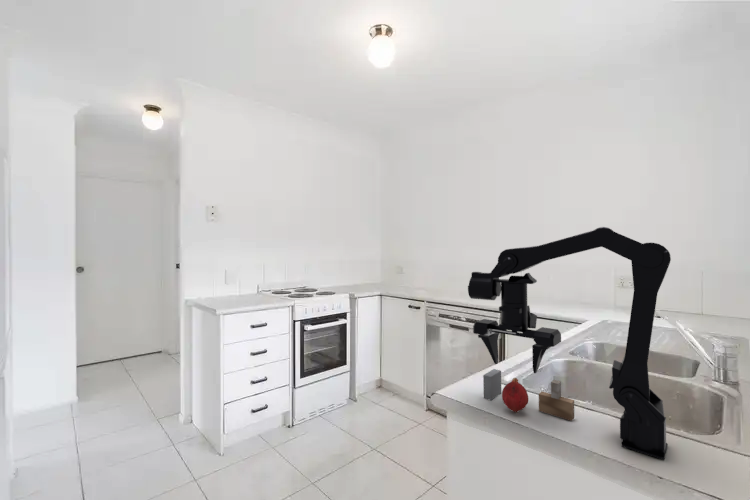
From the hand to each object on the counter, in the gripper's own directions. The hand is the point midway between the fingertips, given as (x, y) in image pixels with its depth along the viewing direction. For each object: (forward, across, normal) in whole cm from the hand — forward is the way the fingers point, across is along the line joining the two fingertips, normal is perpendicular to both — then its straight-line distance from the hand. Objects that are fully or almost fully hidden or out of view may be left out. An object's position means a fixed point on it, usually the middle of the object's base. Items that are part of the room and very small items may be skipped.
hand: (515, 368), depth 82 cm
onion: (+11, 0, 0) cm, 11 cm away
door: (+10, -7, -5) cm, 14 cm away
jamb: (+10, +8, -5) cm, 14 cm away
